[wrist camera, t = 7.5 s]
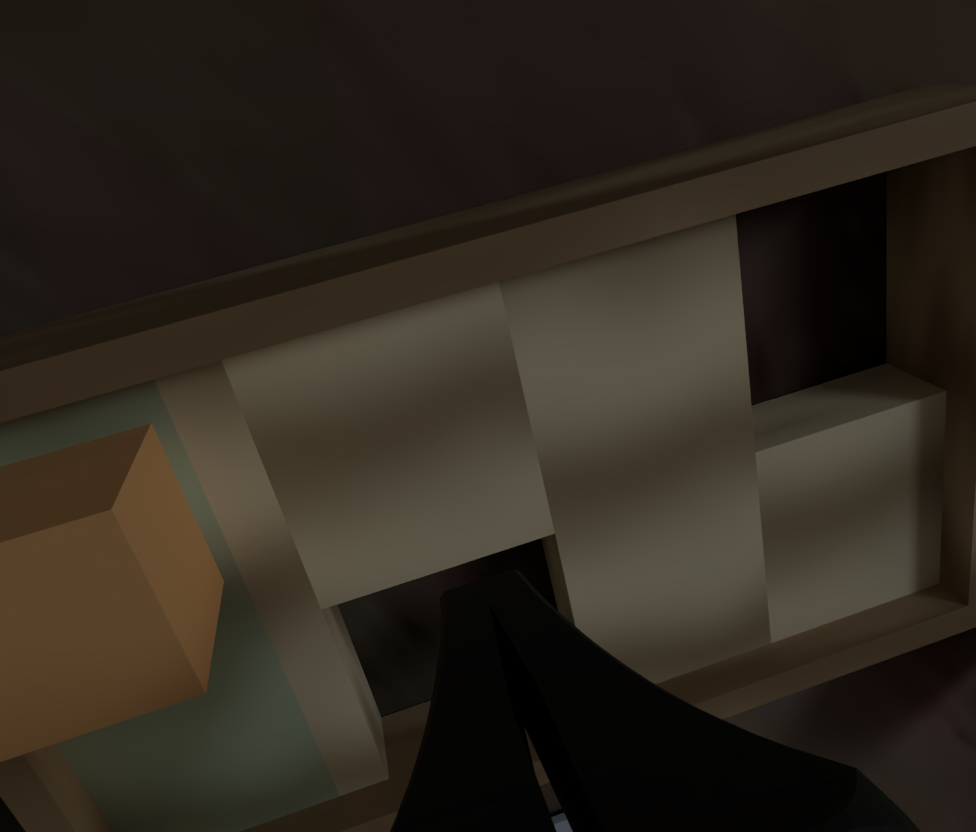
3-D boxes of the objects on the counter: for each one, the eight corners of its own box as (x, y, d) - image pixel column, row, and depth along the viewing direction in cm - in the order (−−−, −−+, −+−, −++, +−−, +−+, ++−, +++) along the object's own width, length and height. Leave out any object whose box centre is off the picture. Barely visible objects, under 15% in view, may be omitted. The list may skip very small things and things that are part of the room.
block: (223, 580, 19) (205, 693, 15) (40, 639, 19) (-23, 769, 15) (151, 423, 17) (111, 509, 14) (-56, 482, 17) (-154, 589, 13)
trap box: (910, 557, 28) (994, 620, 24) (133, 828, 24) (106, 943, 21) (919, 86, 21) (1036, 84, 18) (-153, 377, 18) (-258, 442, 14)
